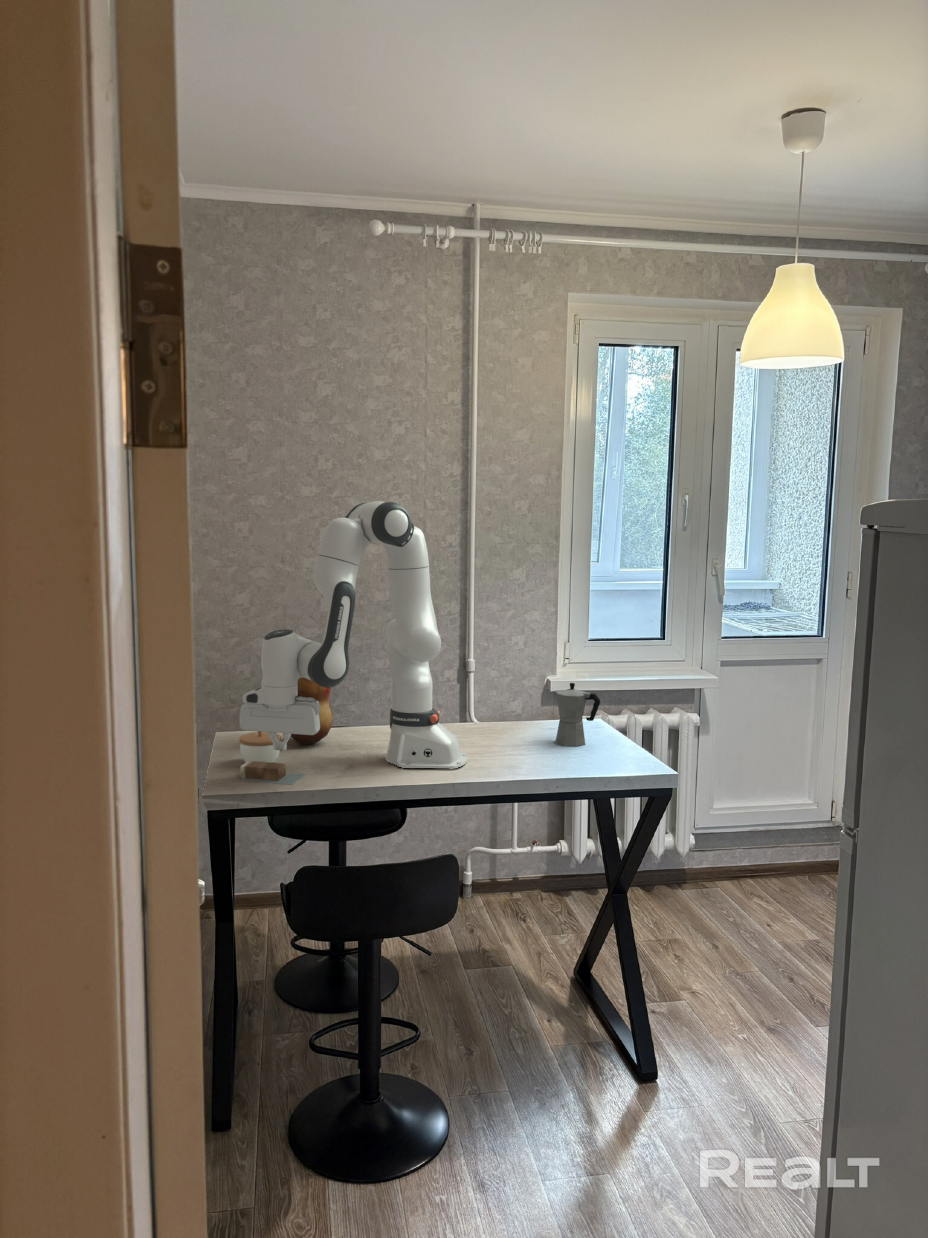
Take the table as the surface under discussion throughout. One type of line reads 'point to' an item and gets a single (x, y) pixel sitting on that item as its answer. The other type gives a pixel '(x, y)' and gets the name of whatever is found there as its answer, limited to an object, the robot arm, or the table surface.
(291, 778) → the slate mat
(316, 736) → the butternut squash
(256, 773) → the brown and white block
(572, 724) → the coffeepot
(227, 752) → the table surface
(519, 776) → the table surface
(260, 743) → the lidded jar
